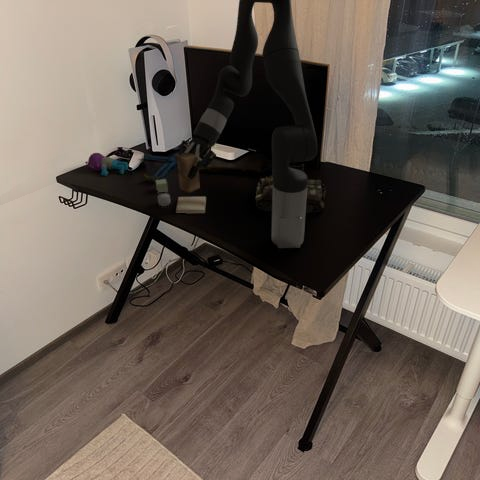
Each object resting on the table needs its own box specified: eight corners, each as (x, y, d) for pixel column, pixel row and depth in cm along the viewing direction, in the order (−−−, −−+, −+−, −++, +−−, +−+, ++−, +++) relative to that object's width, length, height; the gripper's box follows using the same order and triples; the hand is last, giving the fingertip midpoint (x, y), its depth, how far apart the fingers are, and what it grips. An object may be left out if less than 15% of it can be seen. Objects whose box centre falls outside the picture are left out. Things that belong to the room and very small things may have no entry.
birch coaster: (204, 213, 144) (204, 209, 143) (176, 213, 144) (176, 210, 143) (206, 199, 152) (205, 196, 151) (179, 200, 152) (178, 197, 151)
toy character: (113, 168, 165) (149, 144, 184) (115, 179, 168) (150, 154, 186) (187, 181, 156) (216, 153, 175) (188, 192, 158) (217, 164, 177)
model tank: (258, 193, 155) (258, 151, 147) (324, 195, 153) (328, 153, 145) (254, 211, 145) (254, 168, 137) (325, 214, 142) (329, 170, 134)
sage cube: (168, 192, 157) (167, 183, 155) (158, 193, 156) (156, 184, 154) (166, 187, 160) (165, 178, 158) (156, 189, 159) (155, 180, 157)
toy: (131, 169, 178) (95, 160, 179) (132, 154, 174) (94, 144, 176) (117, 183, 168) (79, 173, 170) (117, 167, 164) (78, 157, 166)
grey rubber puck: (170, 207, 148) (169, 199, 146) (157, 207, 148) (156, 199, 146) (171, 201, 151) (170, 193, 150) (159, 201, 151) (158, 193, 150)
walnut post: (200, 187, 145) (197, 155, 138) (189, 192, 142) (186, 160, 136) (190, 183, 147) (187, 151, 141) (179, 188, 144) (176, 156, 138)
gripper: (187, 116, 142) (161, 164, 141) (220, 126, 134) (192, 177, 133) (201, 128, 148) (176, 174, 148) (232, 138, 140) (206, 187, 139)
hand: (184, 175), depth 140 cm, fingers closed on walnut post, 4 cm apart
